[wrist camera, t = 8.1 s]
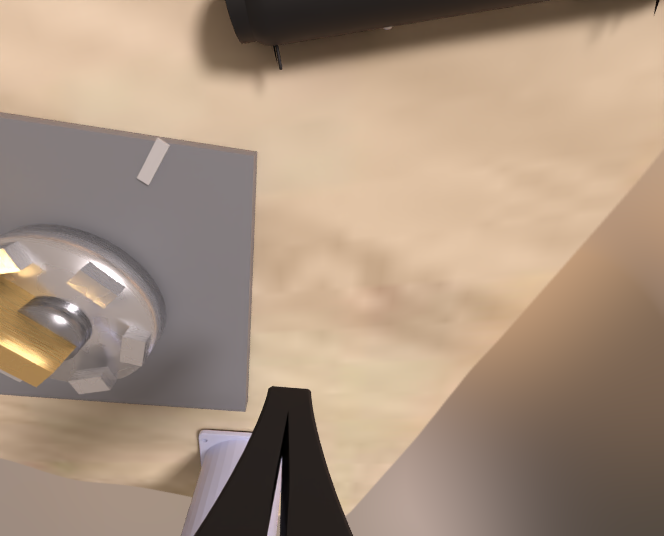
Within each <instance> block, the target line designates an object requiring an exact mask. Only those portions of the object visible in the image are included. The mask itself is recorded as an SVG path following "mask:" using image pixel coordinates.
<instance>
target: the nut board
mask: <svg viewBox="0 0 664 536" xmlns="http://www.w3.org/2000/svg"><path fill="white" fill-rule="evenodd" d="M256 171H257V152H255V151H249V150H242V149H236V148H229V147H223V146H216V145H210V144H203V143H197V142H190V141H184V140H177V139H171V138H164V137H158V136H151V135H145V134H138V133H132V132H125V131H118V130H112V129H105V128H99V127H92V126H86V125H79V124H73V123H66V122H60V121H53V120H47V119H40V118H34V117H27V116H21V115H14V114H8V113H1V112H0V235H2V234H4V233H6V232H8V231H11V230H13V229H16V228H19V227H23V226H27V225H37V224H52V225H60V226H67V227H71V228H75V229H79V230H83V231H85V232H88V233H91V234H94V235H96V236H98V237H101V238H103V239H105V240H107V241H109V242H110V243H112V244H114V245H116V246H118V247H119V248H121V249H122V250H123V251H125V252H126V253H128V254H129V255H130V256H132V257H133V258H134V259H135V260H136V261H137V262H139V263H140V264H141V265H142V266H143V268H144V269H145V270H146V271H147V272H148V273H149V274H150V276H151V277H152V278H153V279H154V281H155V283H156V284H157V286H158V288H159V289H160V292H161V294H162V296H163V299H164V302H165V306H166V324H165V327H164V330H163V332H162V334H161V336H160V338H159V340H158V341H157V343H156V345H155V346H154V348H153V350H152V351H151V353H150V354H149V356H148V358H147V359H146V361H145V362H144V364H143V366H141V367H139V368H138V369H137V370H136V371H134V372H133V373H131V374H130V375H128V376H125V377H123V378H121V379H117V381H116V382H115V384H114V385H113V387H112V388H111V390H108V391H100V392H92V393H84V394H78V393H77V391H76V390H75V389H74V388H73V387H72V385H71V384H70V383H69V382H66V381H60V380H56V379H52V378H47V379H46V380H44V381H43V382H42V383H41V384H40V385H38V386H37V387H34V386H32V385H30V384H28V383H26V382H25V381H23V380H22V381H21V382H18V381H16V380H14V379H12V378H10V377H8V376H6V375H4V374H2V373H0V394H2V395H16V396H30V397H44V398H58V399H72V400H87V401H101V402H115V403H129V404H143V405H157V406H171V407H186V408H200V409H214V410H228V411H242V412H245V411H246V407H247V402H248V381H249V355H250V329H251V302H252V276H253V250H254V223H255V197H256Z"/></svg>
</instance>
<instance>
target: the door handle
mask: <svg viewBox="0 0 664 536" xmlns="http://www.w3.org/2000/svg"><path fill="white" fill-rule="evenodd" d="M225 1H226V5H227V9H228V12H229V16H230V19H231V22H232V25H233V28H234V30H235V33H236V35H237V37H238V39H239V41H240V42H241V43H242V44H243V43H249V42H255V41H257V42H259V43H261V44H264V45H270V46H273V47H274V52H275V56H276V52H277V58H278V63H279V69H280V70H282V64H281V58H280V52H279V47H278V45H282V44H289V43H295V42H301V41H307V40H313V39H319V38H325V37H331V36H337V35H343V34H349V33H355V32H361V31H367V30H373V29H379V28H384V29H386V30H389V29H391V28H392V27H393V26H398V25H404V24H410V23H416V22H422V21H428V20H434V19H440V18H446V17H452V16H458V15H464V14H470V13H476V12H482V11H488V10H494V9H501V8H507V7H513V6H519V5H525V4H531V3H537V2H543V1H549V0H225ZM658 3H659V0H656V6H655V11H656V9H657V6H658ZM654 14H655V12H654ZM275 47H276V51H275ZM277 58H276V61H277Z"/></svg>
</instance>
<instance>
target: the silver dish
mask: <svg viewBox="0 0 664 536" xmlns="http://www.w3.org/2000/svg"><path fill="white" fill-rule="evenodd" d="M165 324H166V306H165V302H164V299H163V296H162V294H161V292H160V289H159V288H158V286H157V284H156V283H155V281H154V279H153V278H152V277H151V276H150V274H149V273H148V272H147V271H146V270H145V269H144V268H143V266H142V265H141V264H140V263H139V262H137V261H136V260H135V259H134V258H133V257H132V256H130V255H129V254H128V253H126V252H125V251H123V250H122V249H121V248H119V247H118V246H116V245H114V244H112V243H110V242H109V241H107V240H105V239H103V238H101V237H98V236H96V235H94V234H91V233H88V232H85V231H83V230H79V229H75V228H71V227H67V226H60V225H52V224H37V225H27V226H23V227H19V228H16V229H13V230H11V231H8V232H6V233H4V234H2V235H0V373H2V374H4V375H6V376H8V377H10V378H12V379H14V380H16V381H18V382H21V381H22V380H23V381H25V382H26V383H28V384H30V385H32V386H34V387H37V386H38V385H40V384H41V383H42V382H43V381H44V380H46V379H47V378H52V379H56V380H60V381H66V382H69V383H70V384H71V385H72V387H73V388H74V389H75V390H76V391H77V393H78V394H84V393H92V392H100V391H108V390H111V388H112V387H113V385H114V384H115V382H116V381H117V379H121V378H123V377H125V376H128V375H130V374H131V373H133V372H134V371H136V370H137V369H138V368H139V367H141V366H143V364H144V362H145V361H146V359H147V358H148V356H149V354H150V353H151V351H152V350H153V348H154V346H155V345H156V343H157V341H158V340H159V338H160V336H161V334H162V332H163V330H164V327H165Z"/></svg>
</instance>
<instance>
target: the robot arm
mask: <svg viewBox="0 0 664 536" xmlns="http://www.w3.org/2000/svg"><path fill="white" fill-rule="evenodd" d="M199 447H200V458H201V471H200V474H199V478H198V481H197V484H196V488H195V491H194V494H193V497H192V501H191V504H190V507H189V511H188V514H187V517H186V521H185V524H184V528H183V531H182V534H181V536H276V532H277V521H278V511H279V501H280V492H281V515H280V536H353V534H352V532H351V530H350V527H349V525H348V522H347V520H346V518H345V515H344V512H343V510H342V507H341V505H340V502H339V500H338V497H337V494H336V491H335V488H334V486H333V483H332V480H331V477H330V474H329V471H328V467H327V464H326V461H325V458H324V454H323V450H322V447H321V443H320V440H319V436H318V432H317V427H316V423H315V418H314V413H313V407H312V399H311V391H310V390H309V389H300V388H287V387H274V386H272V387H270V388H269V389H268V393H267V397H266V400H265V403H264V406H263V409H262V411H261V414H260V416H259V419H258V421H257V424H256V426H255V428H254V430H253V432H252V433H248V432H232V431H217V430H202V431H200V433H199Z"/></svg>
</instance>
